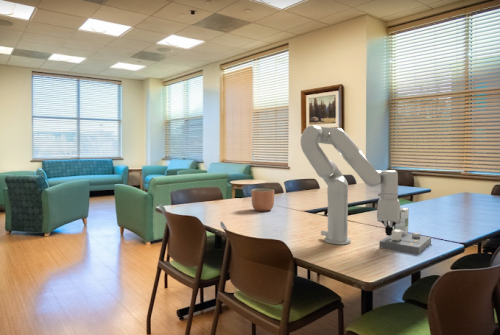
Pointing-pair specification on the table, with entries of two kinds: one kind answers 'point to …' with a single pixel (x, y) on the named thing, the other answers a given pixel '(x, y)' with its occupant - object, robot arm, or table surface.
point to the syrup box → (403, 220)
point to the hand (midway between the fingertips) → (389, 234)
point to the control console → (406, 243)
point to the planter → (262, 199)
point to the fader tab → (396, 234)
